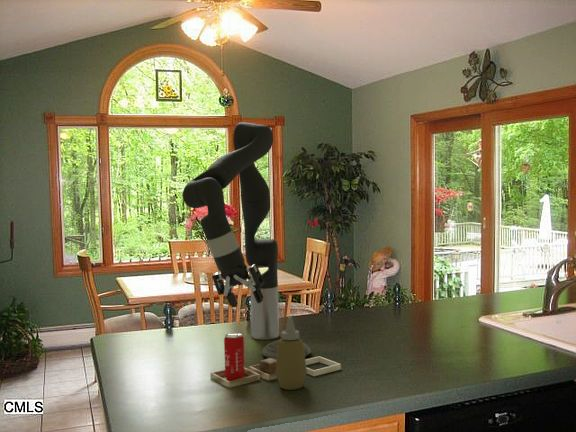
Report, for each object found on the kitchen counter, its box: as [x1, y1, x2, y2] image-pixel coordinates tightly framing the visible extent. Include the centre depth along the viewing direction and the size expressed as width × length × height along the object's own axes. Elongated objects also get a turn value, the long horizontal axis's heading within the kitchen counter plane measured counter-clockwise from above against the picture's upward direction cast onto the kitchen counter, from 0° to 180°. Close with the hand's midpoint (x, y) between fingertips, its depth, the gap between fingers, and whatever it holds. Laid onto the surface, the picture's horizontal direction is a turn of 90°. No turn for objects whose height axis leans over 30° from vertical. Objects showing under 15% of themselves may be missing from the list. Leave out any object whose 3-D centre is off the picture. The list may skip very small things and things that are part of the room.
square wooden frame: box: [248, 363, 278, 382], centre depth 167 cm, size 10×10×2 cm
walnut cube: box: [259, 357, 277, 374], centre depth 165 cm, size 4×4×4 cm
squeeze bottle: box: [276, 316, 307, 391], centre depth 155 cm, size 8×8×18 cm
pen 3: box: [305, 355, 342, 377], centre depth 169 cm, size 10×10×2 cm
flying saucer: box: [261, 338, 312, 359], centre depth 183 cm, size 15×15×6 cm
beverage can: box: [223, 332, 246, 381], centre depth 161 cm, size 5×5×12 cm
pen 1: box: [210, 366, 261, 389], centre depth 162 cm, size 10×10×2 cm
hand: (247, 304), depth 163 cm, fingers open, 8 cm apart
